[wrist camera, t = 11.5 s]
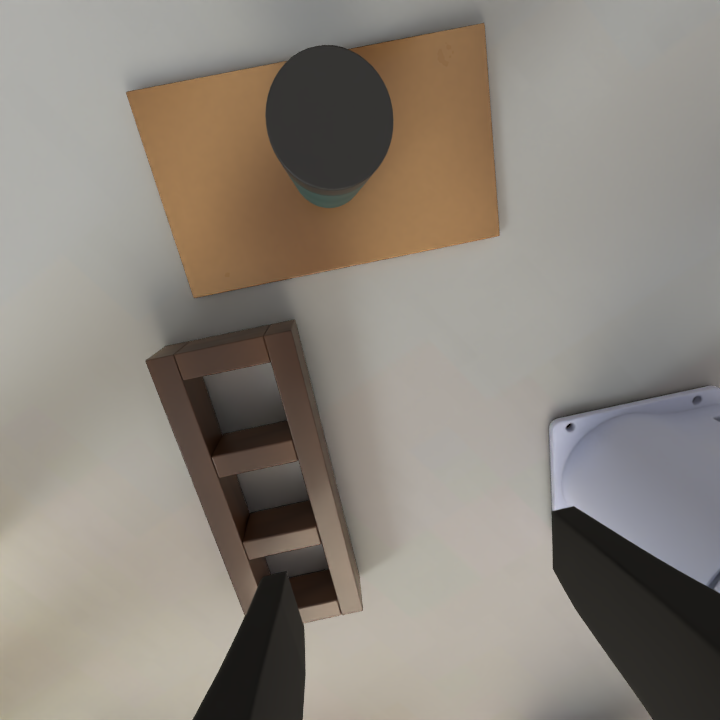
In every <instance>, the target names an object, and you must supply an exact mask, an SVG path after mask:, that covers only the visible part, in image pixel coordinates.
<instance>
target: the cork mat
mask: <svg viewBox="0 0 720 720" xmlns="http://www.w3.org/2000/svg"><path fill="white" fill-rule="evenodd" d="M348 50H351V51H353V52H355V53H357V54H358V55H360V56H361V57H363V58H364V59H365V60H367V61H368V62H369V63H370V64H371V65H372V66H373V67H374V69H375V70H376V71H377V72H378V74H379V75H380V77H381V78H382V80H383V82H384V83H385V86H386V88H387V90H388V93H389V96H390V99H391V103H392V108H393V118H394V122H393V134H392V139H391V143H390V147H389V149H388V152H387V154H386V156H385V158H384V160H383V162H382V163H381V165H380V166H379V167H378V169H377V170H376V171H375V172H374V174H373V175H372V176H371V177H370V178H369V180H368V181H367V182H366V183H365V184H364V186H363V187H362V188H361V189H360V190H359V192H358V193H357V194H356V195H355V196H354V197H353V198H352V199H351V200H350V201H349V202H347V203H346V204H344V205H342V206H339V207H335V208H323V207H319V206H316V205H314V204H312V203H310V202H309V201H308V200H306V199H305V198H304V197H303V196H302V195H301V193H300V192H299V191H298V189H297V188H296V186H295V185H294V183H293V181H292V180H291V178H290V177H289V175H288V174H287V172H286V171H285V169H284V168H283V166H282V164H281V163H280V161H279V160H278V158H277V156H276V155H275V153H274V151H273V148H272V146H271V144H270V141H269V137H268V134H267V128H266V118H265V112H266V102H267V96H268V93H269V90H270V86H271V84H272V82H273V80H274V78H275V76H276V75H277V73H278V71H279V70H280V69H281V68H282V66H283V65H284V64H285V63H286V62H287V61H284V62H279V63H273V64H268V65H263V66H258V67H253V68H248V69H242V70H237V71H232V72H227V73H222V74H216V75H211V76H206V77H201V78H196V79H190V80H185V81H180V82H175V83H170V84H164V85H159V86H154V87H149V88H144V89H139V90H133V91H128V92H126V94H127V97H128V100H129V103H130V106H131V109H132V112H133V115H134V118H135V121H136V124H137V128H138V131H139V134H140V137H141V140H142V143H143V146H144V149H145V152H146V155H147V158H148V161H149V164H150V167H151V170H152V173H153V176H154V179H155V182H156V185H157V188H158V191H159V194H160V197H161V200H162V203H163V206H164V209H165V212H166V215H167V218H168V221H169V224H170V227H171V231H172V234H173V237H174V240H175V243H176V246H177V249H178V252H179V255H180V258H181V261H182V264H183V267H184V270H185V273H186V276H187V279H188V282H189V285H190V288H191V291H192V294H193V297H194V298H198V297H203V296H208V295H213V294H217V293H222V292H227V291H232V290H237V289H242V288H247V287H252V286H257V285H261V284H266V283H271V282H276V281H281V280H286V279H291V278H296V277H301V276H306V275H310V274H315V273H320V272H325V271H330V270H335V269H340V268H345V267H350V266H354V265H359V264H364V263H369V262H374V261H379V260H384V259H389V258H394V257H399V256H403V255H408V254H413V253H418V252H423V251H428V250H433V249H438V248H443V247H447V246H452V245H457V244H462V243H467V242H472V241H477V240H482V239H487V238H492V237H496V236H499V235H500V234H499V220H498V206H497V192H496V178H495V164H494V150H493V136H492V122H491V108H490V94H489V81H488V67H487V53H486V39H485V25H484V23H481V24H476V25H471V26H466V27H460V28H455V29H450V30H445V31H440V32H434V33H429V34H424V35H419V36H414V37H408V38H403V39H398V40H393V41H388V42H382V43H377V44H372V45H367V46H362V47H357V48H351V49H348Z"/></svg>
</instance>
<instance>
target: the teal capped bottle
mask: <svg viewBox="0 0 720 720" xmlns="http://www.w3.org/2000/svg"><path fill="white" fill-rule="evenodd" d="M265 118H266V128H267V134H268V137H269V141H270V144H271V146H272V148H273V151H274V153H275V155H276V156H277V158H278V160H279V161H280V163H281V164H282V166H283V168H284V169H285V171H286V172H287V174H288V175H289V177H290V178H291V180H292V181H293V183H294V185H295V186H296V188H297V189H298V191H299V192H300V193H301V195H302V196H303V197H304V198H305V199H306V200H308V201H309V202H310V203H312V204H314V205H316V206H319V207H323V208H335V207H339V206H342V205H344V204H346V203H347V202H349V201H350V200H351V199H352V198H353V197H354V196H355V195H356V194H357V193H358V192H359V190H360V189H361V188H362V187H363V186H364V184H365V183H366V182H367V181H368V180H369V178H370V177H371V176H372V175H373V174H374V172H375V171H376V170H377V169H378V167H379V166H380V165H381V163H382V162H383V160H384V158H385V156H386V154H387V152H388V149H389V147H390V143H391V139H392V134H393V122H394V118H393V108H392V103H391V99H390V96H389V93H388V90H387V88H386V86H385V83H384V82H383V80H382V78H381V77H380V75H379V74H378V72H377V71H376V70H375V69H374V67H373V66H372V65H371V64H370V63H369V62H368V61H367V60H365V59H364V58H363V57H361V56H360V55H358V54H357V53H355V52H353V51H351V50H348V49H346V48H343V47H338V46H333V45H321V46H315V47H311V48H307V49H305V50H303V51H301V52H299V53H297V54H296V55H294V56H293V57H291V58H290V59H289V60H288V61H287V62H286V63H285V64H284V65H283V66H282V68H281V69H280V70H279V71H278V73H277V75H276V76H275V78H274V80H273V82H272V84H271V86H270V90H269V93H268V96H267V102H266V112H265Z"/></svg>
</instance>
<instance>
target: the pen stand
mask: <svg viewBox="0 0 720 720" xmlns="http://www.w3.org/2000/svg"><path fill="white" fill-rule="evenodd" d="M269 362H271V364H272V368H273V371H274V375H275V379H276V382H277V386H278V389H279V393H280V396H281V400H282V404H283V407H284V411H285V414H286V418H287V421H283V422H278V423H273V424H268V425H264V426H259V427H254V428H250V429H245V430H240V431H235V432H231V433H226V434H223V435H222V432H221V429H220V426H219V423H218V421H217V418H216V415H215V412H214V409H213V406H212V403H211V400H210V397H209V395H208V392H207V389H206V386H205V383H204V380H203V377H202V376H207V375H212V374H217V373H221V372H226V371H231V370H236V369H241V368H245V367H250V366H255V365H260V364H265V363H269ZM146 364H147V367H148V369H149V372H150V374H151V377H152V379H153V382H154V384H155V387H156V390H157V392H158V395H159V397H160V400H161V402H162V405H163V407H164V410H165V413H166V415H167V418H168V420H169V423H170V425H171V428H172V431H173V433H174V436H175V438H176V441H177V443H178V446H179V448H180V451H181V454H182V456H183V459H184V461H185V464H186V466H187V469H188V471H189V474H190V477H191V479H192V482H193V484H194V487H195V489H196V492H197V494H198V497H199V500H200V502H201V505H202V507H203V510H204V512H205V515H206V517H207V520H208V523H209V525H210V528H211V530H212V533H213V535H214V538H215V541H216V543H217V546H218V548H219V551H220V553H221V556H222V558H223V561H224V564H225V566H226V569H227V571H228V574H229V576H230V579H231V581H232V584H233V587H234V589H235V592H236V594H237V597H238V599H239V602H240V604H241V607H242V610H243V612H244V615H246V613H247V611H248V608H249V606H250V604H251V602H252V599H253V597H254V594H255V592H256V590H257V587H258V585H259V583H260V580H261V579H262V578H263V576H268V575H271V574H270V571H269V568H268V565H267V562H266V559H265V556H269V555H274V554H279V553H283V552H288V551H292V550H297V549H301V548H306V547H311V546H315V545H320V544H321V542H322V546H323V549H324V553H325V557H326V560H327V564H328V567H329V569H327V570H323V571H318V572H314V573H309V574H305V575H300V576H296V577H291V578H289V581H290V584H291V587H292V590H293V593H294V597H295V600H296V603H297V606H298V609H299V612H300V616H301V619H302V622H303V623H308V622H312V621H317V620H321V619H326V618H330V617H334V616H339V615H341V614H342V615H345V614H349V613H354V612H358V611H362V610H363V605H362V595H361V585H360V577H359V573H358V569H357V565H356V561H355V557H354V553H353V549H352V545H351V541H350V537H349V533H348V529H347V525H346V521H345V517H344V513H343V509H342V505H341V501H340V497H339V493H338V489H337V485H336V481H335V477H334V473H333V469H332V465H331V461H330V457H329V453H328V449H327V445H326V441H325V437H324V433H323V429H322V425H321V421H320V417H319V413H318V409H317V405H316V401H315V397H314V393H313V389H312V385H311V381H310V377H309V373H308V369H307V365H306V361H305V357H304V353H303V349H302V345H301V341H300V337H299V333H298V329H297V325H296V321H295V320H290V321H285V322H280V323H275V324H271V325H265V326H261V327H256V328H251V329H246V330H241V331H236V332H231V333H227V334H222V335H217V336H212V337H207V338H202V339H198V340H193V341H188V342H183V343H178V344H173V345H168V346H165V347H164V348H162V349H161V350H159V351H158V352H157V353H155V354H154V355H152V356H151V357H150V358H148V359H147V360H146ZM298 460H299V464H300V468H301V471H302V475H303V478H304V482H305V485H306V489H307V493H308V496H309V501H304V502H300V503H295V504H290V505H286V506H281V507H277V508H272V509H267V510H263V511H258V512H253V513H251V514H250V513H249V510H248V507H247V505H246V502H245V499H244V496H243V493H242V490H241V487H240V484H239V481H238V478H237V476H236V474H239V473H244V472H249V471H253V470H258V469H263V468H267V467H272V466H277V465H281V464H286V463H291V462H296V461H298Z"/></svg>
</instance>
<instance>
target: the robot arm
mask: <svg viewBox="0 0 720 720" xmlns="http://www.w3.org/2000/svg"><path fill="white" fill-rule="evenodd" d="M694 397H695V398H694ZM693 399H694V400H693ZM570 423H571V426H570V427H569V428H566V426H567V425H568V424H570ZM549 438H550V464H551V490H552V543H553V570H554V572H555V574H556V575H557V577H558V579H559V581H560V583H561V585H562V586H563V588H564V590H565V592H566V593H567V595H568V597H569V599H570V600H571V602H572V604H573V606H574V607H575V609H576V611H577V612H578V613H579V615H580V616H581V618H582V619H583V621H584V622H585V624H586V625H587V626H588V628H589V629H590V631H591V632H592V634H593V635H594V636H595V638H596V639H597V641H598V642H599V643H600V645H601V646H602V648H603V649H604V651H605V652H606V653H607V655H608V656H609V658H610V659H611V660H612V662H613V663H614V665H615V666H616V667H617V669H618V670H619V672H620V673H621V674H622V676H623V677H624V679H625V680H626V681H627V683H628V684H629V686H630V687H631V689H632V690H633V691H634V693H635V694H636V696H637V697H638V698H639V700H640V701H641V703H642V704H643V705H644V707H645V708H646V710H647V711H648V713H649V714H650V716H651V717H652V719H653V720H720V388H718V387H715V386H706V387H701V388H697V389H692V390H687V391H683V392H678V393H673V394H669V395H664V396H659V397H655V398H650V399H645V400H641V401H636V402H631V403H627V404H622V405H617V406H613V407H608V408H603V409H599V410H594V411H589V412H585V413H580V414H575V415H571V416H566V417H562V418H557V419H555V420H553V421H552V422H551V424H550V426H549ZM304 689H305V638H304V625H303V622H302V619H301V616H300V612H299V609H298V606H297V603H296V600H295V597H294V593H293V590H292V587H291V584H290V581H289V578H288V574H287V571H285V572H281V573H277V574H272V575H268V576H263V578H262V579H261V580H260V583H259V585H258V587H257V590H256V592H255V594H254V597H253V599H252V602H251V604H250V606H249V608H248V611H247V613H246V615H245V617H244V620H243V622H242V624H241V626H240V628H239V630H238V633H237V635H236V637H235V639H234V641H233V643H232V645H231V647H230V649H229V651H228V653H227V655H226V657H225V659H224V661H223V663H222V665H221V667H220V669H219V671H218V673H217V675H216V677H215V679H214V681H213V683H212V685H211V687H210V688H209V690H208V692H207V694H206V696H205V698H204V700H203V701H202V703H201V705H200V707H199V709H198V711H197V713H196V714H195V716H194V718H193V720H302V719H303V704H304Z"/></svg>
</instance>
